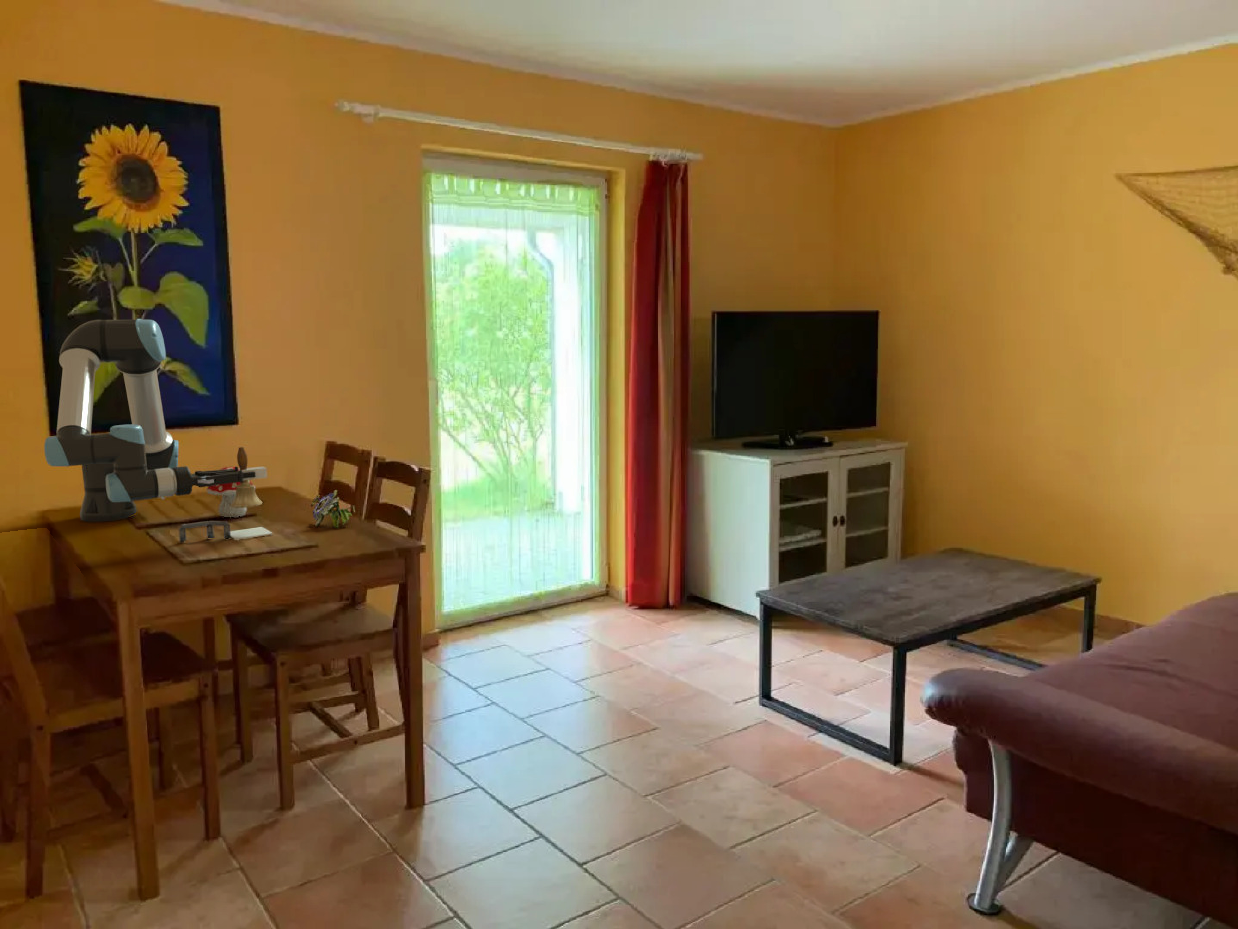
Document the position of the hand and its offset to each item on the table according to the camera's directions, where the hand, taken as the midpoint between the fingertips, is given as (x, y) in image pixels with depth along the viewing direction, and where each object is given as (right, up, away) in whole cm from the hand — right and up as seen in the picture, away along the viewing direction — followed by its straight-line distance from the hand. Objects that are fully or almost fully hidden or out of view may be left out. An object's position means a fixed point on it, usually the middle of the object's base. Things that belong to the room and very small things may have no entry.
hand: (265, 472), depth 265 cm
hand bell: (-4, -9, -2) cm, 10 cm away
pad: (-4, -17, 0) cm, 18 cm away
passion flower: (+15, -15, +11) cm, 25 cm away
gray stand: (-14, -18, -7) cm, 24 cm away
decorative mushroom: (-19, -14, +25) cm, 34 cm away
